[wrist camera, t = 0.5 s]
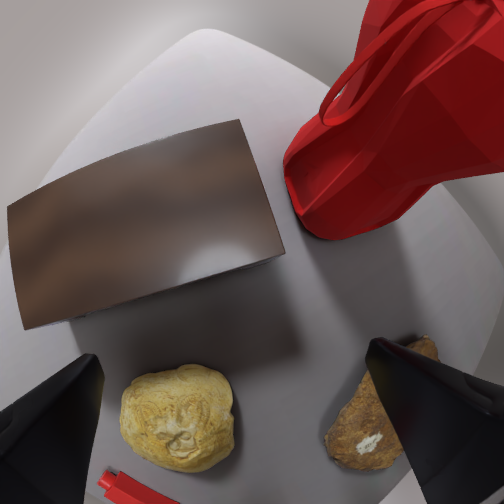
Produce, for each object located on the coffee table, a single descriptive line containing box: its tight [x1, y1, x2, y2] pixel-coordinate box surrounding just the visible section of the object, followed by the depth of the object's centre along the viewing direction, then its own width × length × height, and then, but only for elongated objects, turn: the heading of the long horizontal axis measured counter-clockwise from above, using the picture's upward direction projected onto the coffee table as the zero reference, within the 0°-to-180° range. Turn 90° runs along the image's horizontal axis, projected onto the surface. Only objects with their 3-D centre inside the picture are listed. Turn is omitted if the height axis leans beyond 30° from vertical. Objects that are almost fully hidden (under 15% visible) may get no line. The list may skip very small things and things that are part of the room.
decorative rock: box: [323, 334, 440, 472], centre depth 20 cm, size 11×4×15 cm
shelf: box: [7, 119, 285, 330], centre depth 18 cm, size 9×18×7 cm, turn 108°
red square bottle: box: [97, 470, 180, 504], centre depth 16 cm, size 8×3×3 cm, turn 54°
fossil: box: [120, 364, 235, 473], centre depth 17 cm, size 11×6×10 cm
